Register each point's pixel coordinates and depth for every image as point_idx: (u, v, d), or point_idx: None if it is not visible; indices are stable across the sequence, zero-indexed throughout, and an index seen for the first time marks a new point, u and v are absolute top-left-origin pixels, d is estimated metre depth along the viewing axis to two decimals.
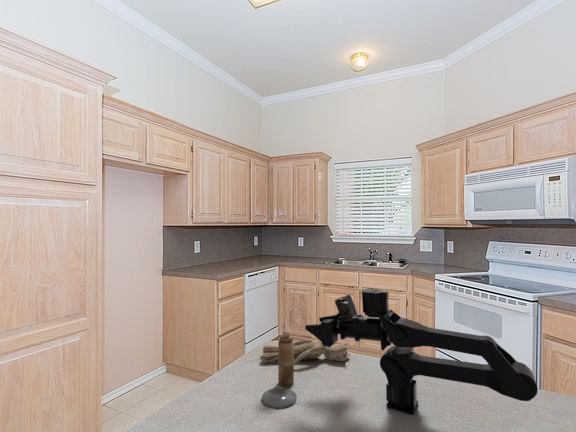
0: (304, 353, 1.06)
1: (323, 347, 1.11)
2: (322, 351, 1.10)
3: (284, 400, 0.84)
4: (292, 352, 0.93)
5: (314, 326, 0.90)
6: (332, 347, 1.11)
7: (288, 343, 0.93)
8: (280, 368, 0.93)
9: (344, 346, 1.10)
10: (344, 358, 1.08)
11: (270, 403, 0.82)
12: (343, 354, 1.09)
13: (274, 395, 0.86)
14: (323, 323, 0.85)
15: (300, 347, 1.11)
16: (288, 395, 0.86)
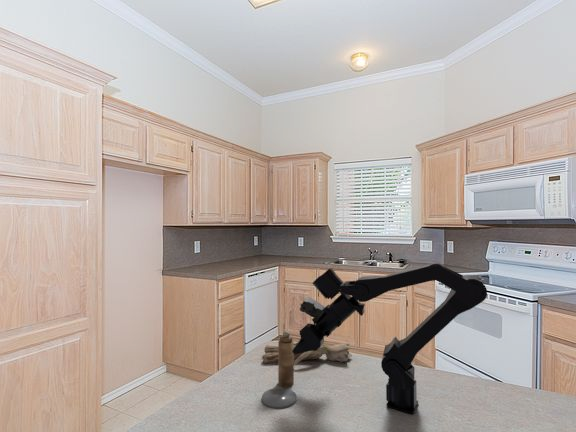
0: (305, 353, 1.06)
1: (325, 347, 1.11)
2: (324, 351, 1.10)
3: (284, 400, 0.84)
4: (292, 352, 0.93)
5: (298, 343, 0.87)
6: (334, 347, 1.11)
7: (288, 343, 0.93)
8: (280, 368, 0.93)
9: (346, 346, 1.10)
10: (346, 358, 1.08)
11: (270, 403, 0.82)
12: (345, 354, 1.08)
13: (274, 395, 0.86)
14: (301, 331, 0.84)
15: None
16: (288, 395, 0.86)
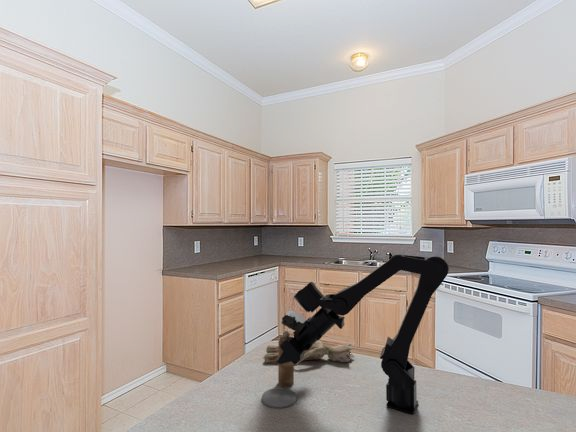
0: (307, 353, 1.06)
1: (326, 348, 1.11)
2: (325, 352, 1.10)
3: (284, 400, 0.84)
4: None
5: (283, 353, 0.91)
6: (335, 348, 1.11)
7: None
8: (280, 368, 0.93)
9: (348, 347, 1.09)
10: (347, 359, 1.08)
11: (270, 403, 0.82)
12: (346, 355, 1.08)
13: (274, 395, 0.86)
14: (281, 345, 0.86)
15: None
16: (288, 395, 0.86)
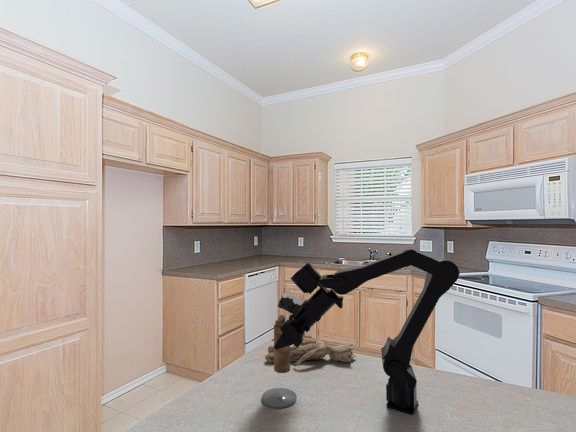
0: (308, 353, 1.06)
1: (328, 347, 1.11)
2: (327, 351, 1.10)
3: (284, 400, 0.84)
4: None
5: (280, 338, 0.87)
6: (337, 348, 1.11)
7: None
8: (277, 354, 0.89)
9: (349, 347, 1.09)
10: (349, 359, 1.08)
11: (270, 403, 0.82)
12: (348, 355, 1.08)
13: (274, 395, 0.86)
14: (281, 327, 0.81)
15: (305, 347, 1.11)
16: (288, 395, 0.86)
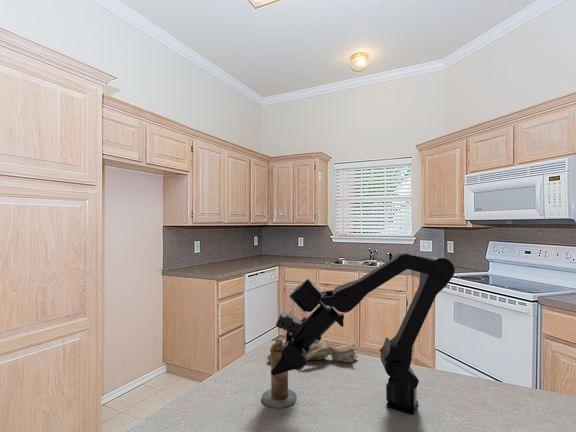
0: (310, 353, 1.06)
1: (330, 348, 1.11)
2: (329, 352, 1.10)
3: (284, 400, 0.84)
4: None
5: (278, 363, 0.80)
6: (339, 348, 1.10)
7: None
8: (275, 380, 0.84)
9: (351, 347, 1.09)
10: (351, 359, 1.07)
11: (270, 403, 0.82)
12: (350, 355, 1.08)
13: None
14: (284, 350, 0.77)
15: None
16: (288, 395, 0.86)
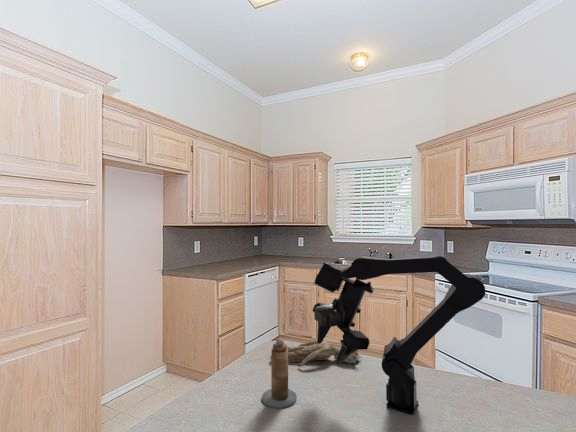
0: (313, 354, 1.05)
1: (333, 348, 1.10)
2: (332, 352, 1.09)
3: (284, 400, 0.84)
4: (287, 361, 0.86)
5: (343, 354, 0.84)
6: None
7: (283, 352, 0.85)
8: (275, 380, 0.84)
9: None
10: (354, 360, 1.07)
11: (270, 403, 0.82)
12: (353, 356, 1.07)
13: None
14: (351, 345, 0.80)
15: (310, 348, 1.11)
16: (288, 395, 0.86)
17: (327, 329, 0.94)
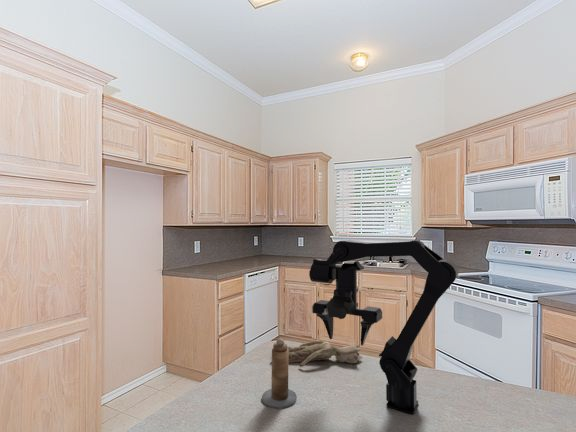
0: (314, 354, 1.05)
1: (334, 348, 1.10)
2: (333, 352, 1.09)
3: (284, 400, 0.84)
4: (287, 361, 0.86)
5: (365, 333, 0.88)
6: (343, 349, 1.10)
7: (284, 352, 0.85)
8: (275, 380, 0.84)
9: (355, 348, 1.08)
10: (355, 360, 1.07)
11: (270, 403, 0.82)
12: (354, 356, 1.07)
13: None
14: (375, 320, 0.84)
15: (311, 348, 1.11)
16: (288, 395, 0.86)
17: (332, 322, 0.95)
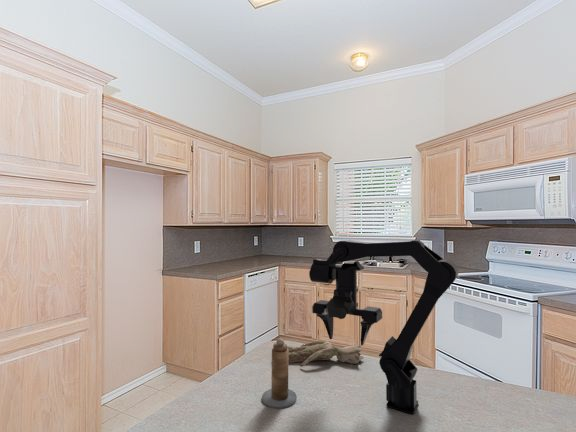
0: (315, 354, 1.05)
1: (335, 349, 1.10)
2: (334, 353, 1.09)
3: (284, 400, 0.84)
4: (287, 361, 0.86)
5: (365, 333, 0.88)
6: (344, 349, 1.10)
7: (284, 352, 0.85)
8: (275, 380, 0.84)
9: (357, 348, 1.08)
10: (356, 360, 1.07)
11: (270, 403, 0.82)
12: (355, 356, 1.07)
13: None
14: (375, 320, 0.84)
15: (312, 348, 1.10)
16: (288, 395, 0.86)
17: (332, 322, 0.95)
